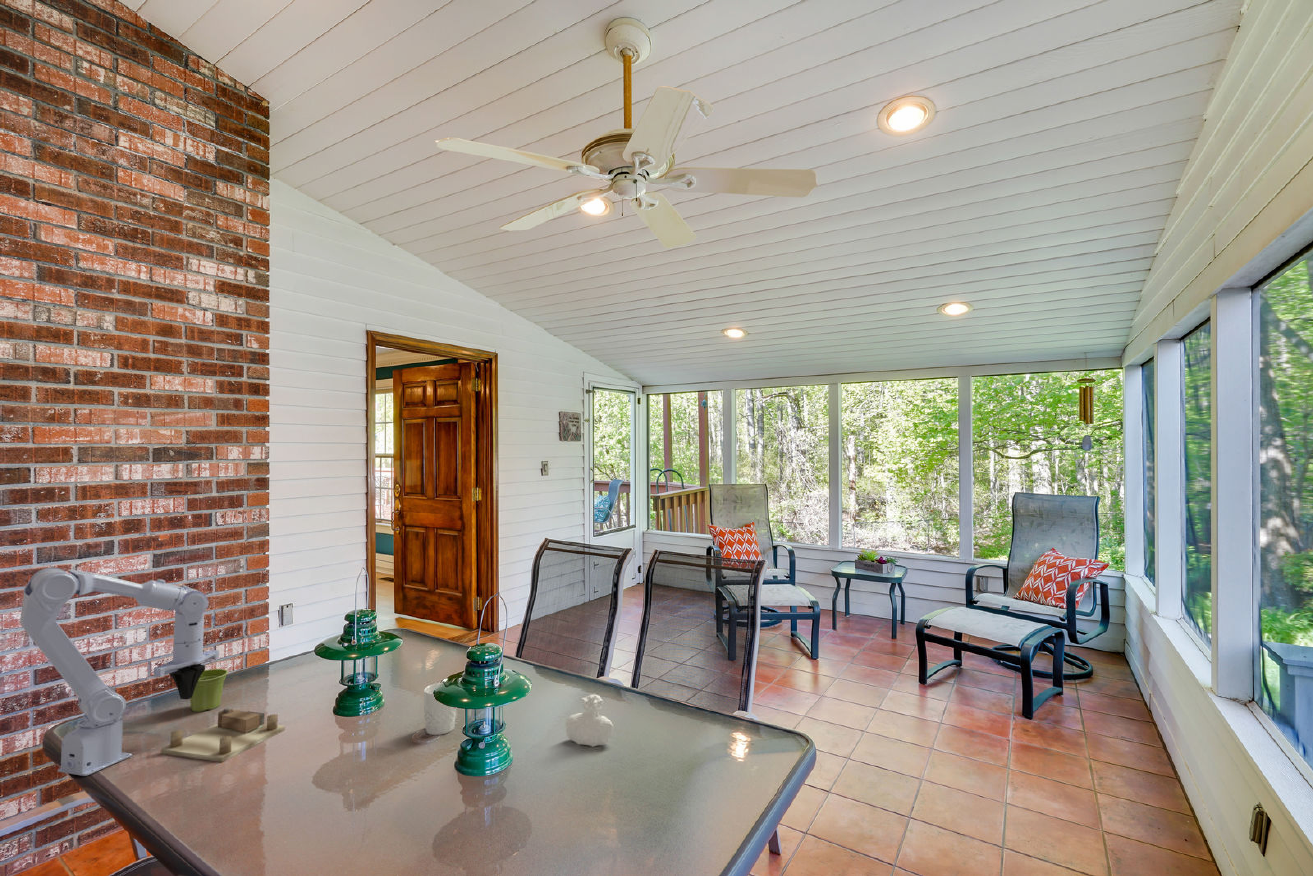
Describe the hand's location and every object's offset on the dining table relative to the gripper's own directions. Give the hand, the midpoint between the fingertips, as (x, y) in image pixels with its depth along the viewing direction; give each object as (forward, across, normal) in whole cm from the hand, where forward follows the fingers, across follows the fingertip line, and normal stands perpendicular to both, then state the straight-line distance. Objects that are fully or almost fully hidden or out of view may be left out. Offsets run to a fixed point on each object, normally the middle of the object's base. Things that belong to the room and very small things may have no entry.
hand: (186, 698), depth 148 cm
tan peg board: (+9, +1, -11) cm, 14 cm away
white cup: (+10, +20, -55) cm, 60 cm away
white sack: (+10, +23, -93) cm, 97 cm away
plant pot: (+10, +16, +13) cm, 23 cm away
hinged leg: (+8, +6, -9) cm, 13 cm away
